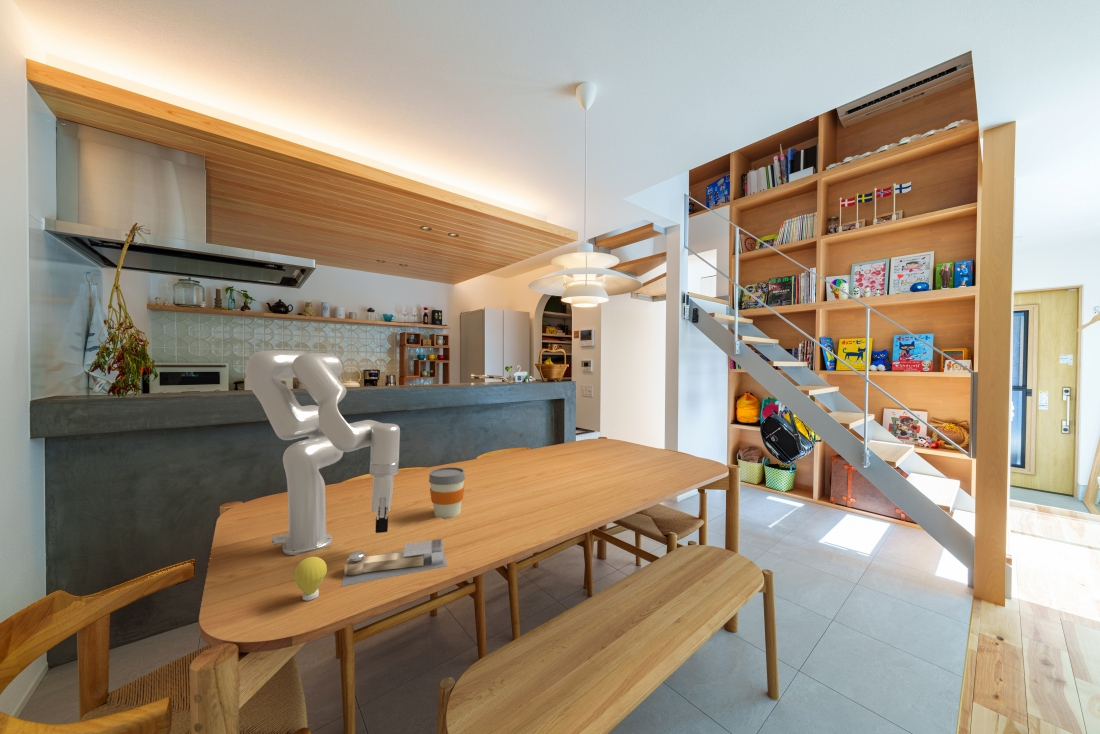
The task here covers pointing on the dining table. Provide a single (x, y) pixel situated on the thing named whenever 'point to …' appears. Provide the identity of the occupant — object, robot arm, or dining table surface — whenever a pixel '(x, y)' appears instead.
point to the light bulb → (310, 576)
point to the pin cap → (356, 556)
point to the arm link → (382, 563)
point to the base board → (392, 571)
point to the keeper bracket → (426, 549)
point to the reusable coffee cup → (447, 491)
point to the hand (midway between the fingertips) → (381, 531)
